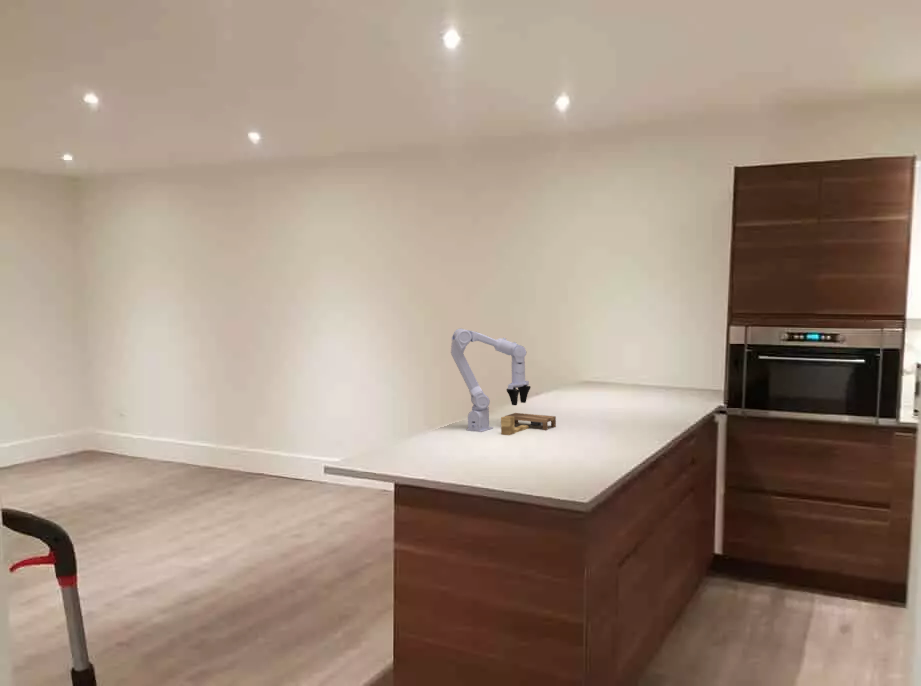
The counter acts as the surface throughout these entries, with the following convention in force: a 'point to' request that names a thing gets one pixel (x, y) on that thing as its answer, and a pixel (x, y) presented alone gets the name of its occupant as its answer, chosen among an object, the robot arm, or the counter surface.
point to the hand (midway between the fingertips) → (518, 403)
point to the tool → (510, 426)
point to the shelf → (534, 419)
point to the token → (536, 423)
